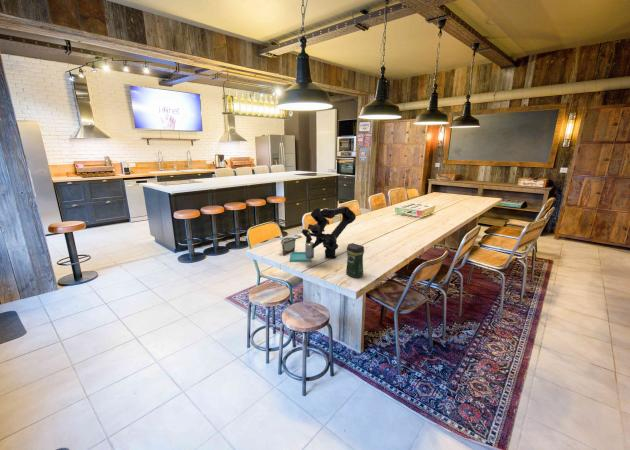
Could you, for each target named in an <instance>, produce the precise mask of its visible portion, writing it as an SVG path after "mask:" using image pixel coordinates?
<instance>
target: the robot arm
mask: <svg viewBox="0 0 630 450" xmlns="http://www.w3.org/2000/svg"><path fill="white" fill-rule="evenodd" d="M337 215H341V216H342V217H341V220H340V222H339V223H338V224H337V225H336V227H335V228H334V229H333V230H332V232H331V233H324V232H325V228H326V227H327V225H330V221H329V219H330V220H331V219H333V218H335V216H337ZM310 216H311V218H312V219H313V220H314V221H315V222H316V223H314V224H310V223H309V224H308V225H307V229H305V228H303V229H302V230H301V234H302V235H303V236H304V237H305V243H306V242H312V240H313V238H312V237H315V241H314V242H313V243H314V245H313V247H312V248H313V249H314V250H315V248H317V247H318V246H319V245H321V244H322V247H323V248H325V249H324V256H325V259H336V250H338V248H339V244H338V243H337V242H338V241H337V239H338V238H339V236H340V235H341V234H342V232H343V231H344V230H345V229H346V228H347V226H349V225H350V224H352V223H354V221H356V216H357V215H356V213H354V212H353V210H351V209H350V207H348V206H345V205H343V206H338V207H335V208H323V209H322V210H321V209H320V208H318V207H316V209H313V210H312V211H311V213H310Z"/></svg>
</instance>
